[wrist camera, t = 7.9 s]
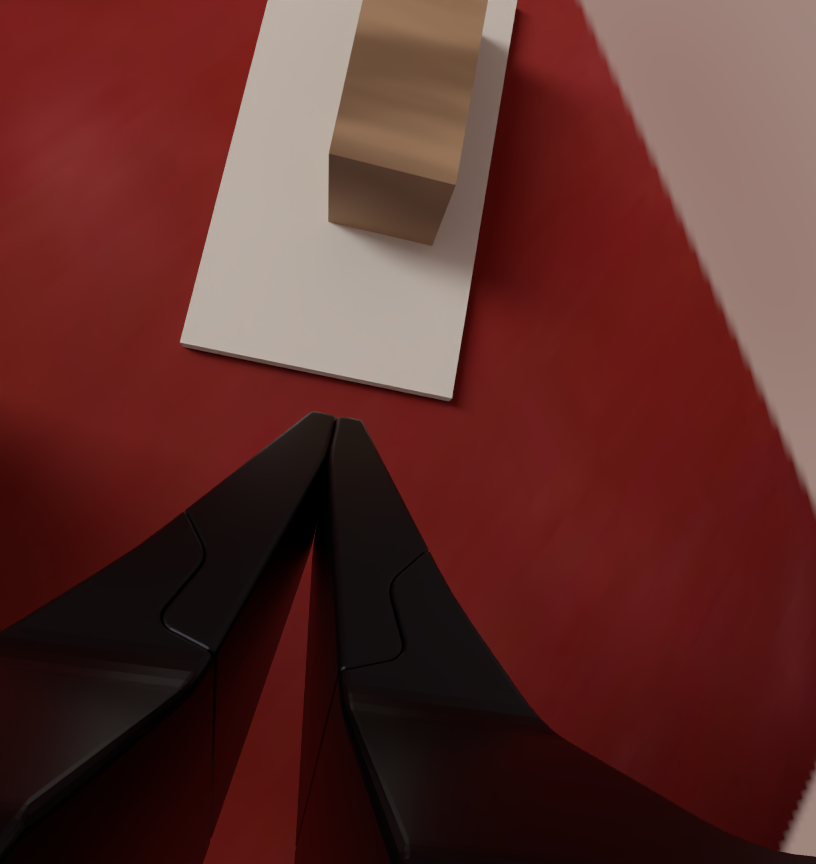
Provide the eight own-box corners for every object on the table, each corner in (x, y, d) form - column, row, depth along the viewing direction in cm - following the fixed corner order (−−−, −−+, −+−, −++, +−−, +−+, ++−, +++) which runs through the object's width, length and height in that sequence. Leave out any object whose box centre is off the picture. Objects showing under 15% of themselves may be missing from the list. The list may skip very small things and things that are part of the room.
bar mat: (448, 401, 24) (452, 398, 23) (183, 346, 23) (179, 342, 22) (513, 6, 27) (518, -5, 27) (287, -60, 26) (286, -73, 26)
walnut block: (455, 184, 20) (500, -70, 22) (328, 153, 19) (385, -105, 21) (432, 246, 24) (470, 30, 26) (327, 221, 24) (375, 2, 26)
